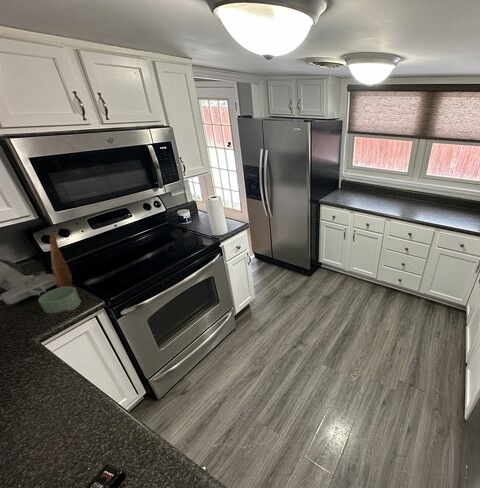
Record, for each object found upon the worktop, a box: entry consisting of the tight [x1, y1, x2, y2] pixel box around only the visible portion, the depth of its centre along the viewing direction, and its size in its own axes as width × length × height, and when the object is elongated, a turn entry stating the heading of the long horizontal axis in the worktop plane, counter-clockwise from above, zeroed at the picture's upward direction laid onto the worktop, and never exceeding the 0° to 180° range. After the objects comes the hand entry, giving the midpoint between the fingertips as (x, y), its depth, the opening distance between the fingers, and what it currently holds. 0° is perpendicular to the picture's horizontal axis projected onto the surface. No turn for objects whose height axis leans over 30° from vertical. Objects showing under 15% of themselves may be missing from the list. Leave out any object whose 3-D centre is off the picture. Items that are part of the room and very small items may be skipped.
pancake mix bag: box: [49, 231, 73, 289], centre depth 136 cm, size 7×19×28 cm, turn 36°
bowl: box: [37, 286, 82, 314], centre depth 123 cm, size 13×13×8 cm
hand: (42, 292), depth 126 cm, fingers closed
